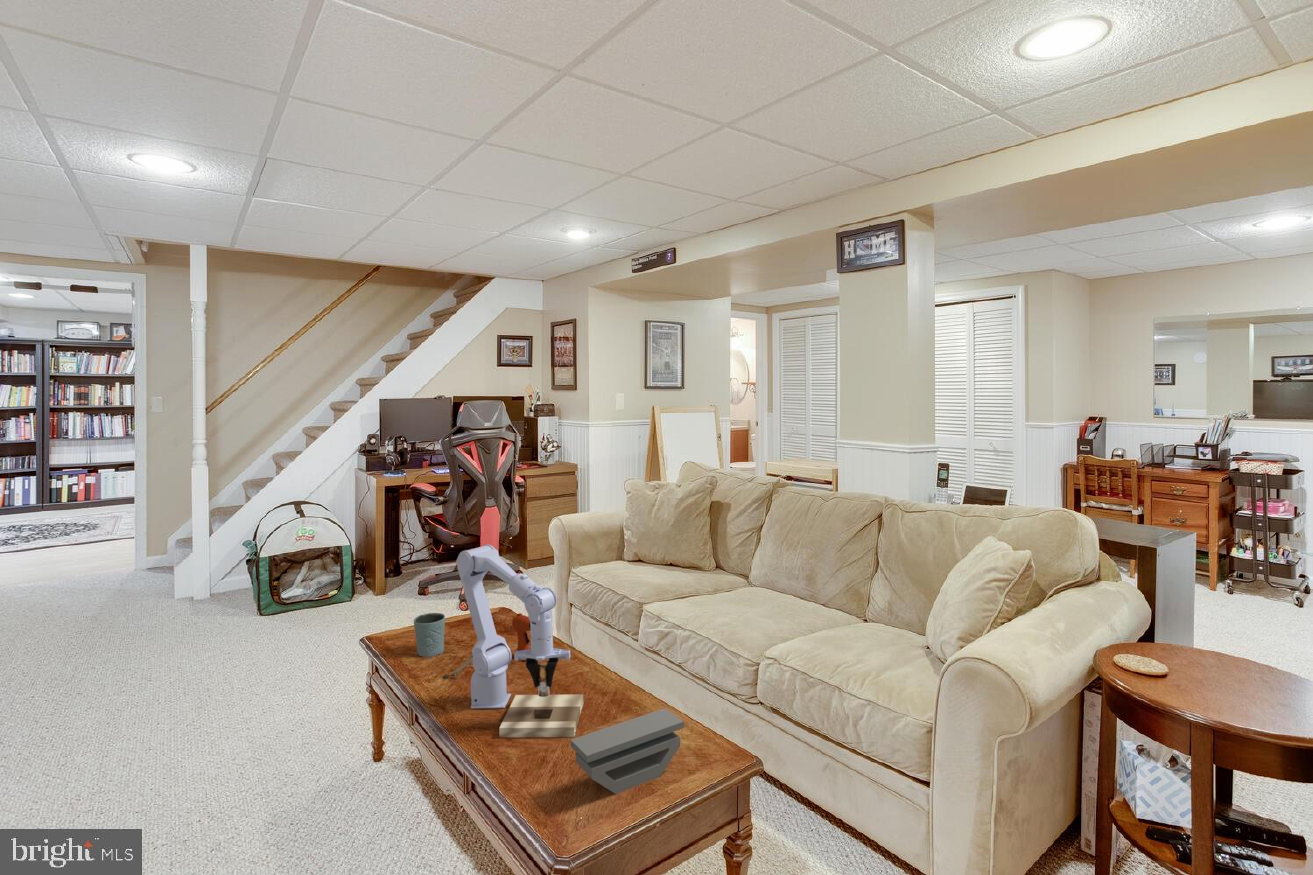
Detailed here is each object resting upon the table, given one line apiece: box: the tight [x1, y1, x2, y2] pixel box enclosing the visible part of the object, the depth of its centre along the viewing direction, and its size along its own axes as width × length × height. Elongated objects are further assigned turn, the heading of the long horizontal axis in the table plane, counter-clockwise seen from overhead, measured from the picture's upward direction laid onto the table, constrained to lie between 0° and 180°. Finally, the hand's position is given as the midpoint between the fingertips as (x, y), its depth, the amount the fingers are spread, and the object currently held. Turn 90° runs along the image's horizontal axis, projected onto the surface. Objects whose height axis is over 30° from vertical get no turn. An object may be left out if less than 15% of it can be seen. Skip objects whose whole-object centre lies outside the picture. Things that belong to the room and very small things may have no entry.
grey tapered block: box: [570, 708, 685, 795], centre depth 149 cm, size 25×8×11 cm, turn 123°
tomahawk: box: [443, 655, 473, 680], centre depth 212 cm, size 21×7×1 cm, turn 166°
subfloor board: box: [498, 693, 585, 738], centre depth 176 cm, size 19×18×2 cm
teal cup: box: [413, 612, 446, 658], centre depth 222 cm, size 10×10×12 cm
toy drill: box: [511, 612, 531, 663], centre depth 213 cm, size 5×19×15 cm, turn 46°
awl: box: [537, 662, 551, 697], centre depth 175 cm, size 3×3×8 cm
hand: (543, 685), depth 175 cm, fingers closed on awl, 3 cm apart
